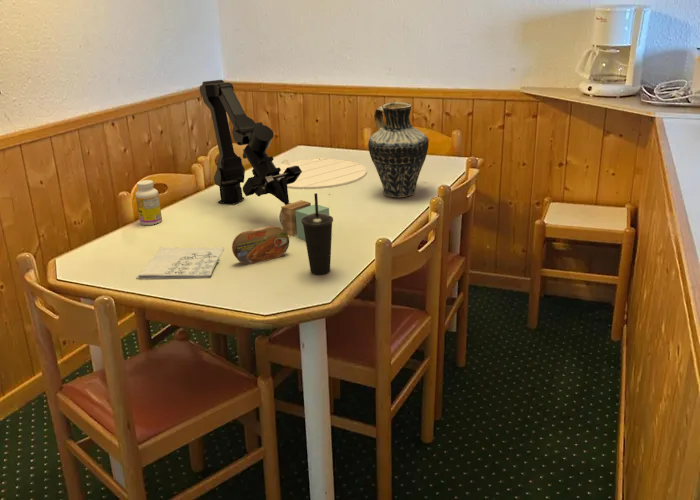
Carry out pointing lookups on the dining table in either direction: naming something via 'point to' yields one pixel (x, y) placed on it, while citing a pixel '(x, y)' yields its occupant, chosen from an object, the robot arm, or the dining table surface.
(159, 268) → the folded printed napkin
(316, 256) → the drinking cup
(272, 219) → the dining table surface
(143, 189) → the supplement bottle
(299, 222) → the socket block
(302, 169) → the lazy susan
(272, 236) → the tin
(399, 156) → the jug
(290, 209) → the sleeve block
